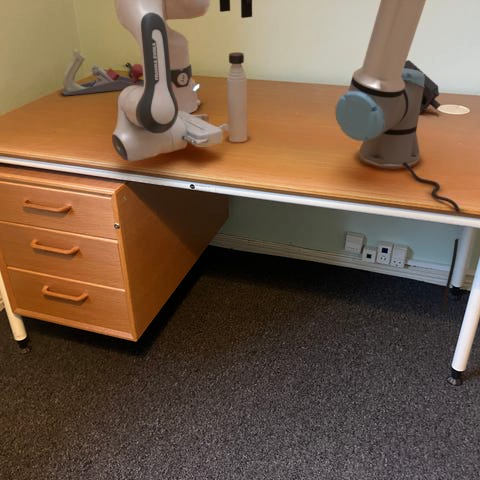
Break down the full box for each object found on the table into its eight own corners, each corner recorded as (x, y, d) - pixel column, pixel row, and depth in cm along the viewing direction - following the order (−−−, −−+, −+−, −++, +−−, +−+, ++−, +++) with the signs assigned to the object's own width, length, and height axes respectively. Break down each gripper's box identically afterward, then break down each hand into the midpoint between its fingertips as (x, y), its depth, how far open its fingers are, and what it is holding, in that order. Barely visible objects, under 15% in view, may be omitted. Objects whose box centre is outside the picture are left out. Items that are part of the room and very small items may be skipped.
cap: (242, 60, 144) (242, 51, 143) (245, 63, 140) (245, 55, 139) (228, 61, 143) (227, 52, 142) (230, 64, 140) (230, 56, 139)
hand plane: (62, 90, 197) (53, 48, 189) (145, 82, 205) (140, 41, 197) (62, 96, 191) (54, 53, 184) (148, 87, 199) (143, 45, 191)
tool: (378, 91, 179) (405, 54, 169) (421, 128, 175) (451, 93, 164) (370, 95, 176) (396, 58, 165) (413, 134, 171) (443, 98, 161)
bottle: (245, 134, 156) (244, 52, 143) (249, 141, 151) (248, 57, 139) (227, 136, 155) (224, 53, 143) (230, 143, 150) (228, 58, 138)
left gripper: (193, 133, 131) (239, 120, 137) (153, 111, 145) (196, 101, 152) (195, 157, 134) (239, 143, 141) (156, 134, 148) (198, 123, 155)
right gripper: (273, -89, 117) (272, 19, 128) (224, -88, 134) (226, 6, 146) (244, -88, 114) (245, 22, 125) (197, -87, 131) (202, 9, 142)
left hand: (217, 121), depth 146 cm, fingers open, 8 cm apart
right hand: (235, 14), depth 135 cm, fingers open, 11 cm apart
